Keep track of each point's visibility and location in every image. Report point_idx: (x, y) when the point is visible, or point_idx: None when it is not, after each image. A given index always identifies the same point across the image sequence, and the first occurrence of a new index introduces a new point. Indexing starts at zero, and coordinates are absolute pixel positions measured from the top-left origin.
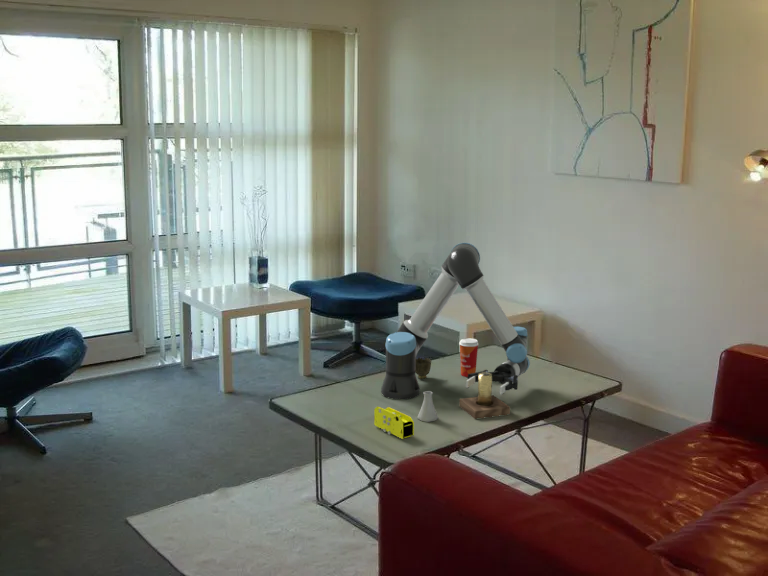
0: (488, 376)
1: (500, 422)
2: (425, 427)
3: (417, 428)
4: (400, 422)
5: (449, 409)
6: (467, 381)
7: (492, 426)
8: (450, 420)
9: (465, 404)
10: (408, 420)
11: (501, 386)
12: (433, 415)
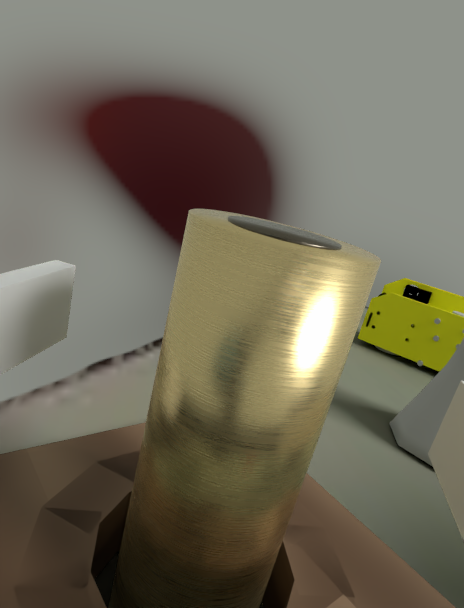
0: (224, 212)
1: (56, 416)
2: (377, 385)
3: (394, 381)
4: (393, 291)
5: (459, 592)
6: (462, 387)
7: (112, 382)
8: (333, 434)
9: (349, 520)
10: (395, 308)
11: (51, 266)
12: (407, 405)
